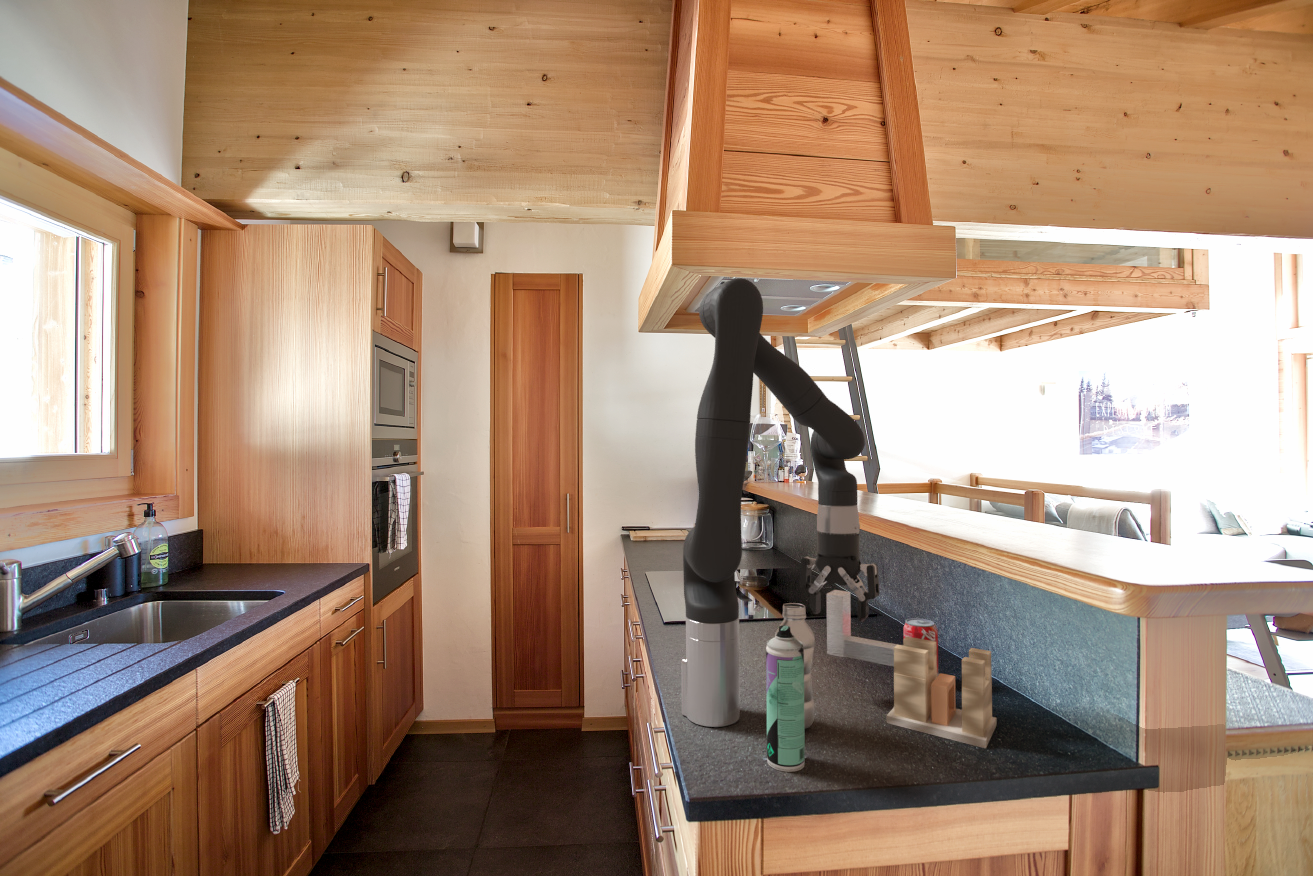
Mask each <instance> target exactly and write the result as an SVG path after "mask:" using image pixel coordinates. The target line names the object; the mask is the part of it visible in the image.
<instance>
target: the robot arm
mask: <svg viewBox="0 0 1313 876" xmlns="http://www.w3.org/2000/svg"><path fill="white" fill-rule="evenodd" d="M698 310H699V311H698V313H699V314H698V315H699V320H700V323H701V325H702V327H703V328H704V329H705V330H706V331H707V332H708V333H709V334H710V335H711V336H712V337H713V338H714V340H715V342H714V354H713V361H712V365H711V369H710V372H709V373H708V377H707V380H706V383H705V386H704V388H703V390H702V391H703V392H702V394H701V397H700V401H699V405H698V408H697V415H696V425H695V440H694V451H695V452H694V456H695V467H696V468H695V469H696V470H695V471H696V477H697V486H698V487H697V488H698V489H697V490H698V491H697V492H698V499H697V509H696V518H695V524H694V527H692V528H691V529H690V530H689V531H688V533H687V534H686V535H685V539H684V541H683V547H682V550H683V554H682V561H683V567H682V568H683V569H682V570H683V572H682V573H683V597H684V603H685V604H684V606H685V657H683V658H682V659H681V663H680V665H681V668H680V671H681V677H680V678H681V686H680V687H681V715H682V716H685V717H687V719H688V720H689V721H690V722H692V723H694V724H696V725H700V726H704V727H709V728H710V727H711V728H712V727H714V728H719V727H726V726H730V725H733V724H735V723H736V722H738V721H739V719H740V717H741V716H740V710H741V704H740V702H741V701H740V695H741V694H740V610H739V609H740V606H739V605H740V604H739V600H738V599H739V598H738V595H737V590H736V581H735V580H736V577H735V576H736V574H735V573H736V572H737V570H738V569H739V567H740V564H741V561H742V557H743V556H742V555H743V543H742V542H743V541H742V540H743V539H742V497H743V496H742V495H743V490H744V489H743V488H744V483H745V482H744V481H745V477H746V469H747V461H748V459H747V457H748V453H749V452H748V451H749V441H750V431H751V417H752V416H751V411H752V399H753V398H752V397H753V387H754V386H753V385H754V375H755V376H756V377H757V378H758V379H759V380H760V381H761V383H763V384H764V385H765V386H766V388H768V390H769V391H770V392H771V394H773V396H774V397H775V398H776V399H777V400H778V401H779V403H780V404H781V406H783V408H784V409H785V410H786V411H787V412H788V414H789V415H790V416H791V417H792V418H793V420H795V421H796V422H797V424H799V425H801V426H804V427H808V428H809V429H812V430H813V432H812V434H811V437H810V445H809V446H810V447H809V448H810V453H811V454H810V455H811V459H812V463H813V467H814V472H815V475H816V478H817V483H818V484H817V488H818V489H817V494H818V496H817V499H818V501H817V502H818V504H817V514H816V535H817V536H816V541H817V542H816V548H817V550H816V551H817V558H814V557H813V558H812V557H811V555H808V556H805V557H802V558H801V560H800V575H799V577H800V578H799V588H800V589H801V590H806V591H807V592H808V593H809V608H810V610H811V611H812V614H814V615H818V614H820V613H821V610H822V608H821V607H822V605H821V604H822V603H821V601H822V599H821V597H822V595H821V594H822V593H821V592H820V590H821V589H822V588H823V586H824V585H825V584H827V583H828V584H829V585H836V584H837V585H839V586H843V587H844V586H848V588H849V589H850V590H851V591H852V592H853V593H854V594H855V595H856V597H857V598H858V600H856V601H857V602H856V603H857V621H858V622H860V623H861V622H864V621H865V620H866V619H867V618H868V617H869V615H870V614H869V611H870V610H869V607H870V606H869V602H870V601H869V600H874V599H876V598H878V597H879V596H880V595H881V594H880V580H879V568H878V567H879V566H878V564H877V563H873V562H872V563H870V564H869V563H867V564H866V563H861V560H860V527H861V523H860V515H859V508H858V507H859V506H858V502H859V501H858V480H857V478H856V476H855V475H854V474H853V473H851V472H849V471H848V470H847V468H846V463H845V460H852V459H855V458H857V457H858V456H860V455H861V453H862V452H863V451H864V449H865V444H866V443H865V442H866V441H865V440H866V439H865V434H864V431H863V430H862V428H861V426H860V425H859V424H858V422H857V421H856V420H855V419H854V418H853V417H852V416H851V415H849V414H848V413H847V412H846V411H844V409H842V408H841V407H840V406H838V405H837V404H836V403H834V402H833V401H832V400H830V399H829V398H828V396H826V394H825V393H824V391H822V389H821V388H820V387H819V385H818V384H817V383H816V382H815V381H814V379H812V377H811V376H810V374H808V373H807V372H806V371H805V369H804V368H802V367H801V366H800V365H799V364H798V363H797V362H795V361H794V360H792V359H791V358H790V357H788V356H787V355H785V354H784V353H782V352H781V351H780V350H779V349H777V348H776V347H775V346H774V345H772V343H770V341H768V340H767V339H766V338H765V337H764V336H763V334H761V326H762V322H763V315H764V301H763V297H762V295H761V292H760V290H759V288H758V287H757V286H756V284H754V283H753V282H752V281H750V280H748V279H746V278H740V277H738V278H733V279H730V280H727V281H725V282H723V283H722V284H720V285H718V286H717V287H715V288H712V289H711V290H710V291H708V293H706V294H705V295H704V297H703V298H702V299H701V301H700V304H699V308H698ZM815 567H816V569H818V571H819V573H820V574H818V576H817V577H816V578H815V580H814V581H813V583H812V570H813V569H814V568H815ZM861 571H862V572H863V575H864V576H865V577H867V579H866V580H867V581H866V582H867V589H866V587H865V586H864V583H863V581H862V580H861V578H860V577H859V576H858V575H859V574H860V573H861Z"/></svg>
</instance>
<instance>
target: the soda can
mask: <svg viewBox="0 0 1313 876" xmlns="http://www.w3.org/2000/svg"><path fill="white" fill-rule="evenodd" d="M902 630H903V631H902V632H903V639H904V638H905V637H912V638H918V639H924V640H930V641H935V642H936V652H937V676H938V675H939V631H938V628H937V625H936V624H935V622H934V621H932V620H930V619H925V618H919V617H918V618H915V617H914V618H913V617H912V618H908V619H905V623H904V626H903V629H902Z"/></svg>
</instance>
